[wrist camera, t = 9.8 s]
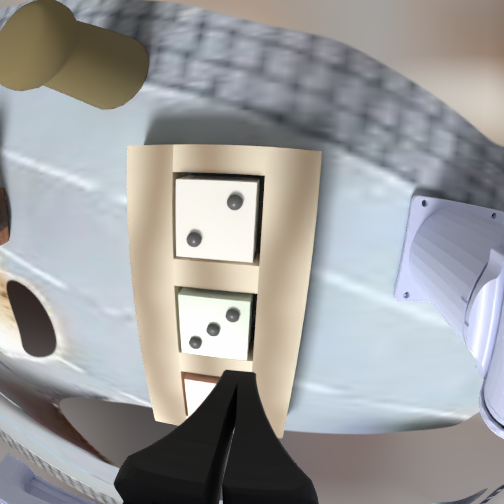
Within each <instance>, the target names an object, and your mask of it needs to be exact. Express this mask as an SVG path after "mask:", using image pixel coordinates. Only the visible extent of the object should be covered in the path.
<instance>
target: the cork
mask: <svg viewBox="0 0 504 504" xmlns="http://www.w3.org/2000/svg"><path fill="white" fill-rule="evenodd" d="M148 67H149V60H148V53H147V51H146V50H145V48H144V46H143V45H142V44H141V43H140V42H138V41H137V40H136V39H133V38H130V37H128V36H125V35H122V34H119V33H116V32H113V31H110V30H107V29H104V28H101V27H97V26H94V25H91V24H87V23H84V22H80V21H76V19H75V17H74V14H73V13H72V12H71V10H70V9H69V8H68V7H66V6H65V5H63V4H62V3H60V2H58V1H56V0H36V1H33V2H30V3H28V4H26V5H24V6H22V7H21V8H20V9H19V10H17V11H16V12H15V13H14V14H13V15H12V16H11V17H10V18H9V20H8V21H7V22H6V23H5V25H4V27H3V28H2V30H1V31H0V84H1V85H2V86H4V87H6V88H9V89H12V90H15V91H25V90H29V89H34V88H39V87H41V86H42V85H44V86H46V87H49V88H51V89H54V90H56V91H59V92H61V93H63V94H66V95H68V96H71V97H73V98H76V99H78V100H80V101H83V102H85V103H87V104H90V105H92V106H94V107H97V108H100V109H114V108H116V107H119V106H122V105H124V104H125V103H126V102H128V101H129V100H130V99H132V98H133V97H134V96H135V95H136V93H137V92H138V91H139V90H140V89H141V87H142V85H143V83H144V81H145V79H146V77H147V72H148Z"/></svg>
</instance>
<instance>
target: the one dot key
mask: <svg viewBox="0 0 504 504" xmlns="http://www.w3.org/2000/svg"><path fill="white" fill-rule="evenodd" d="M219 379H220V377H218V376H211V375H203V374H197V373H190V372H187V374H186V376H185V379H184V381H185V390H186V399H187V408H188V416H190V415H191V414H192V413H193V412H194V411H195V410H196V409H197V408H198V407H199V406H200V405H201V403H202V402H203V401H204V400H205V399H206V397H207V396H208V395H209V394H210V392H211V391H212V390H213V388H214V387H215V385H216V384H217V382H218V381H219Z"/></svg>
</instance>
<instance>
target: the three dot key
mask: <svg viewBox="0 0 504 504" xmlns="http://www.w3.org/2000/svg"><path fill="white" fill-rule="evenodd" d="M253 295H254V293H243V292H232V291H222V290H211V289H201V288H192V287H183V288H182V290H181V291H180V292H179V294H178V303H179V320H180V335H181V348H182V352H183V353H189V354H196V355H204V356H211V357H219V358H228V359H237V360H246V361H247V357H248V351H249V345H250V340H251V327H252V311H253Z"/></svg>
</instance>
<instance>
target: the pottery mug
mask: <svg viewBox="0 0 504 504" xmlns="http://www.w3.org/2000/svg"><path fill="white" fill-rule="evenodd" d="M7 217H8V212H7V205H6V198H5V192H4V189H3V188H0V245H2V244H4V243H6V242H8V240H9V231H8V219H7Z"/></svg>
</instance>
